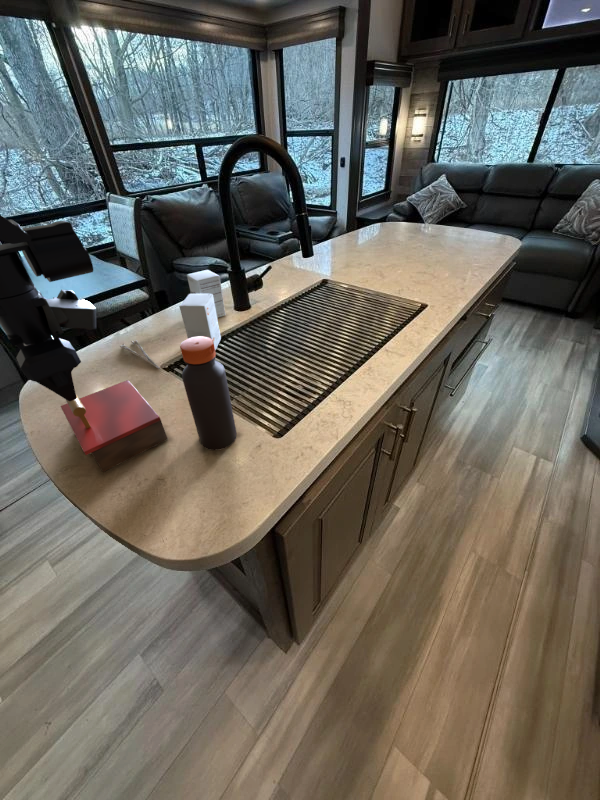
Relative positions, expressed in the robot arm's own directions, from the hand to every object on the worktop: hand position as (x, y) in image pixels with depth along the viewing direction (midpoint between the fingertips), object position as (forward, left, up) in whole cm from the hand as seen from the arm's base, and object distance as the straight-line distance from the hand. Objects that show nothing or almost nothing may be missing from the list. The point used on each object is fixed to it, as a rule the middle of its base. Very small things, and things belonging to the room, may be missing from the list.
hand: (65, 386), depth 53 cm
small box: (+33, +19, -13) cm, 41 cm away
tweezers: (+18, +25, -13) cm, 34 cm away
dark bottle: (+17, -14, -13) cm, 26 cm away
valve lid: (+4, 0, -8) cm, 9 cm away
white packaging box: (+44, +36, -13) cm, 59 cm away
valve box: (+4, 0, -13) cm, 14 cm away
